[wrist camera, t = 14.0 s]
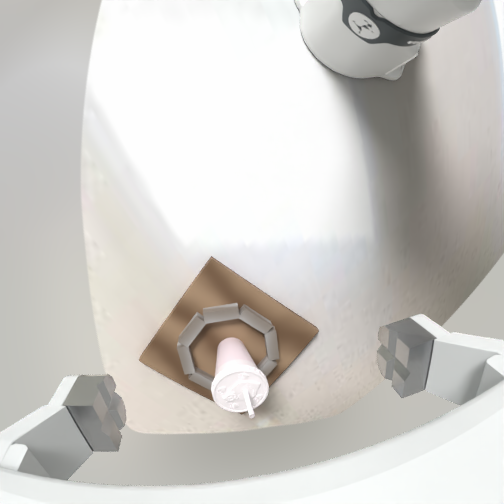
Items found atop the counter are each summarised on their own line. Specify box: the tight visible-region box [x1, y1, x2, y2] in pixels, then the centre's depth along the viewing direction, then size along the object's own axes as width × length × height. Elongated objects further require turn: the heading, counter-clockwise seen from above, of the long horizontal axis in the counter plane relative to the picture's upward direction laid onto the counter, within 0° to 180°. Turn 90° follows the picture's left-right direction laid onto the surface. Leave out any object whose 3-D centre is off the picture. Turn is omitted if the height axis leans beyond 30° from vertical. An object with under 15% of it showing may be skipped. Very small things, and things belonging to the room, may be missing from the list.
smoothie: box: [211, 338, 269, 418], centre depth 35 cm, size 6×6×14 cm
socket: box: [139, 256, 319, 414], centre depth 41 cm, size 18×18×3 cm
